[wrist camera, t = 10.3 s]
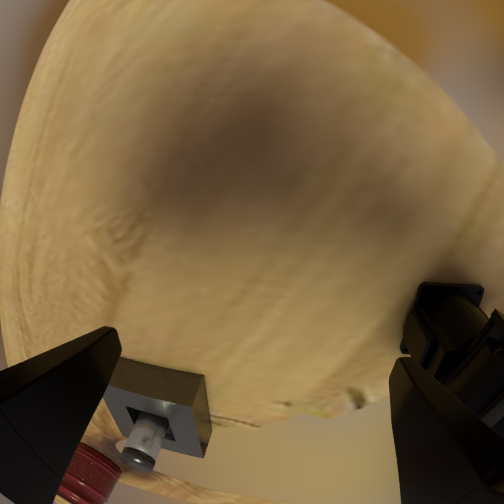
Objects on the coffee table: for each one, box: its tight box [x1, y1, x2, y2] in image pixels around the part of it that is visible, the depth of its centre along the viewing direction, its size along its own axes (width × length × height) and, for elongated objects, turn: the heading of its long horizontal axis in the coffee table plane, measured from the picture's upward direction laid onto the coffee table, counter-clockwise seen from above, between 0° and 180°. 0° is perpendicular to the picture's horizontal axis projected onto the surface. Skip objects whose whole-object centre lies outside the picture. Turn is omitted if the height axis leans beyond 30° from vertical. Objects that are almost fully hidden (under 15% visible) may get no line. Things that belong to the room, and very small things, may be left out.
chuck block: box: [103, 357, 212, 458], centre depth 26 cm, size 19×10×4 cm, turn 89°
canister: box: [54, 443, 121, 504], centre depth 34 cm, size 13×13×18 cm
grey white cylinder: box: [120, 411, 170, 472], centre depth 23 cm, size 3×3×8 cm
